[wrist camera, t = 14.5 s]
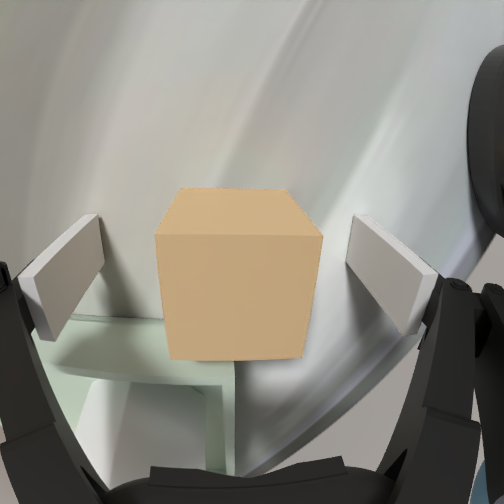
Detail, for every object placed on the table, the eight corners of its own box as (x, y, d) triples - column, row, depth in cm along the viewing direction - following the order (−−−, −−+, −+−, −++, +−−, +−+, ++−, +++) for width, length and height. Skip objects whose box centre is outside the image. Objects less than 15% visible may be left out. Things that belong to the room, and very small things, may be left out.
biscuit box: (285, 190, 15) (323, 235, 9) (277, 280, 17) (302, 357, 11) (180, 188, 14) (154, 234, 9) (184, 280, 16) (170, 359, 11)
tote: (231, 319, 17) (234, 377, 13) (232, 466, 26) (235, 503, 22) (-26, 302, 15) (-56, 337, 11) (58, 446, 24) (49, 477, 20)
